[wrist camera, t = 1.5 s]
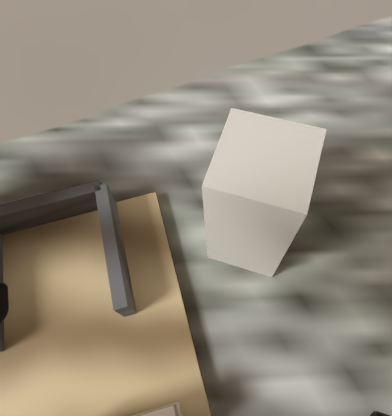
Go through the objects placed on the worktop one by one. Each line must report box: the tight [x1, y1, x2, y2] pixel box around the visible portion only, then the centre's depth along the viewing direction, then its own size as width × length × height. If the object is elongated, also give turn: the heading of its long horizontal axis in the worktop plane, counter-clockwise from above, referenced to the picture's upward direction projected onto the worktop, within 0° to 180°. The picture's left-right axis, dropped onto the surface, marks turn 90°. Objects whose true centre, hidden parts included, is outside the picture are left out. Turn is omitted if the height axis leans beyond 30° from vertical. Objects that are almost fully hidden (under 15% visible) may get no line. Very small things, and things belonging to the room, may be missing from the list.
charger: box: [202, 108, 326, 277], centre depth 20 cm, size 5×4×10 cm
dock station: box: [0, 180, 211, 416], centre depth 20 cm, size 19×13×4 cm
